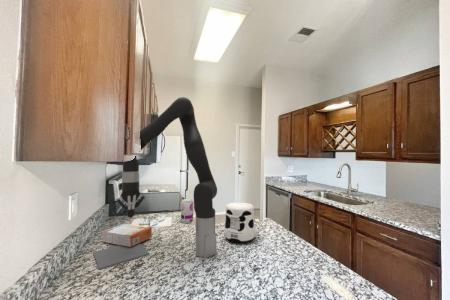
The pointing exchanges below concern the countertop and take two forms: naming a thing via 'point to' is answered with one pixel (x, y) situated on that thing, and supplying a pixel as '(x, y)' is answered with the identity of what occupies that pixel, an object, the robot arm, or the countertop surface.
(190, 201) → the supplement can
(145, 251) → the mat
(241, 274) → the countertop surface
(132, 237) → the cracker box
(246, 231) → the milk container
